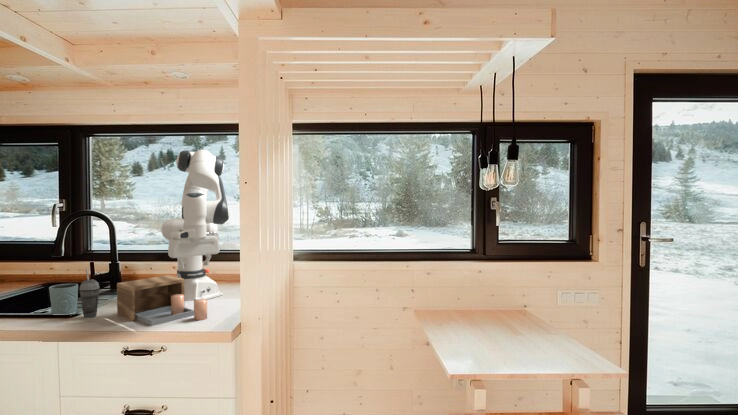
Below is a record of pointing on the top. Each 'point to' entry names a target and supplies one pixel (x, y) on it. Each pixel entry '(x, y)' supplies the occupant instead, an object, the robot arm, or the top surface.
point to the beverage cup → (89, 297)
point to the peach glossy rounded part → (177, 304)
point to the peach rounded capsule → (200, 309)
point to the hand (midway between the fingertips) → (194, 267)
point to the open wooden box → (146, 294)
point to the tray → (161, 315)
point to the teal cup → (64, 298)
